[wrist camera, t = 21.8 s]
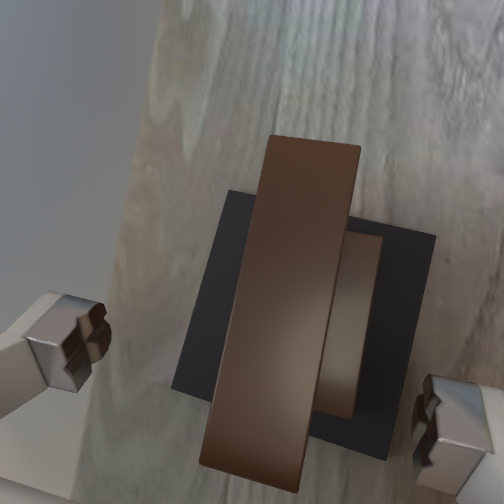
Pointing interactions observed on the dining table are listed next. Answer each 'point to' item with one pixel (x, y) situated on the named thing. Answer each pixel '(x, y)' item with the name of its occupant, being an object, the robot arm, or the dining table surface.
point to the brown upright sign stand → (293, 315)
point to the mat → (378, 336)
